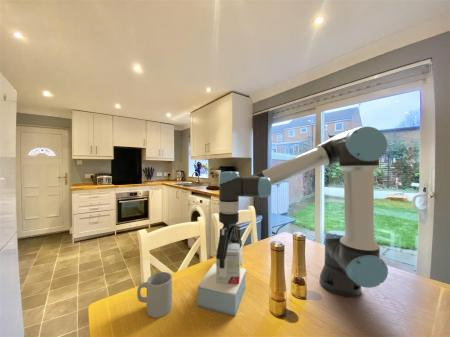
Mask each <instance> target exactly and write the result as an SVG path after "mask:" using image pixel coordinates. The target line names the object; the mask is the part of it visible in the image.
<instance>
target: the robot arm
mask: <svg viewBox="0 0 450 337" xmlns="http://www.w3.org/2000/svg"><path fill="white" fill-rule="evenodd" d="M387 149H388V139H387V137H386V136H385V134H384V133H383V132H382V131H380V130H379V129H378V128H376V127H373V126H359V127H355V128H352V129H350V130H347V131H344V132H341V133H338V134H336V135H335V136H332V137H331V138H329V139H328V140H325V141H324V142H321V143H320V144H318V145H316V147H315V148H314V149H311V150H309V151H307V152H304V153H302V154H300V155H297V156H294V157H293V158H290V159H288V160H285V161H283V162H281V163H277V164H275V165H274V166H271V167H269V168H267V169H264V170H262V171H260V172H257V173H254V174H251V175H249V176H240V172H239V171H231V170H229V171H221V172H220V174H219V183H218V185H219V186H218V190H219V191H218V196H219V197H218V198H219V199H218V201H219V202H218V204H217V205H218V210H219V213H218V222H219V223H220V224H222V225H223V226H222V228H220V229H219V236H218V243H217V245H218V246H217V248H218V250H217V249H216V251H217V256H216V255H215V256H216V257H215V260H216V259H219V276H222V277H226V276H227V258H226V254H227V249H228V243H229V240H231V242H230V243H231V244H237V243H238V242H239V240H237V239H239V236H238V235H239V234H238V233H239V232H238V227H237V223H239V220H240V219H239V215H240V213H239V211H240V210H239V208H240V206H239V205H240V204H239V203H240V201H239V200H240V199H239V197H240V198H241V197H243V198H244V197H245V198H246V197H248V198H249V197H250V198H269V197H271V195H272V186H274V185H276V184H279V183H282V182H285V181H286V180H289V179H292V178H294V177H297V176H299V175H301V174H302V175H303V174H304V173H307V172H309V171H311V170H314V169H317V168H318V167H319V168H320V167H321V166H327V167H328V166H330V165H333V164H337V163H338V165H339V168H340V169H341V170H342V171H343V173H344V174H343V180H344V184H343V187H344V192H343V193H344V195H343V198H344V199H343V200H344V201H343V202H344V205H343V206H344V230H327V231H326V232H325V234H324V265H323V267H322V269H321V272H320V274H319V282H320V284H321V285H322V287H324V288H325V289H326V290H327V291H329V292H331V293H333V294H336V295H338V296H342V297H348V298H354V297H358V296H360V295H361V293H362V288H368V289H369V288H377V287H378V286H380V285H381V284H383V283H384V282H385V281H386V280H387V278H388V275H389V269H388V265H387V264H386V262H385V261H384V260H383V258H381V256H380V252H381V251H380V248H381V247H380V244H378V243H377V242H376V240H375V222H374V221H375V212H374V211H375V210H374V209H375V208H374V206H375V204H374V200H375V199H374V196H375V195H374V193H375V191H374V189H375V188H374V184H375V183H374V177H375V176H374V172H375V170H376V169H378V168H379V167H380V159H381V158H382V157H383V155H384V154H386V152H387Z"/></svg>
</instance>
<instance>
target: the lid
mask: <svg viewBox="0 0 450 337" xmlns="http://www.w3.org/2000/svg"><path fill="white" fill-rule="evenodd" d="M246 271H247V268H243V267H240V279H239V284H234V283H219V282H216V263H213V265H212V266H210V268H209V270H207V272H206V273H205V275H204V276H203V277H202V279H201V280H200V281H199V283H198V284H197V288H198V287H200V288H204V289H209V290H213V291H218V292H222V293H226V294H231V295H235V296H236V294H237V291H238V289H239V286H240V284H241V282H242V279H243V277H244V274H245V275H246Z"/></svg>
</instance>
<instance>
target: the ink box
mask: <svg viewBox="0 0 450 337" xmlns="http://www.w3.org/2000/svg"><path fill="white" fill-rule="evenodd" d="M217 250H218V247H217V249H216V254H215V256H217ZM226 258H227V276H226V277H222V276H219V259H216V258H215V260H216V261H215V262H216V282H219V283H234V284H239V279H240V268H241V265H240V244H231V243H228V249H227V254H226Z"/></svg>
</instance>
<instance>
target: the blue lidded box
mask: <svg viewBox="0 0 450 337" xmlns="http://www.w3.org/2000/svg"><path fill="white" fill-rule="evenodd" d="M245 289H246V273H245V274H244V277H243V279H242V282H241V284H240V286H239V289H238V291H237V294H236V296H235V295H231V294H226V293H222V292H218V291H213V290H209V289H204V288H200V287H198V286H197V307H198V308H202V309H205V310H210V311H212V312H217V313H222V314H225V315H229V316H232V317H236V315H237V312H238V309H239V307H240V304H241V301H242V298H243V295H244V294H245V293H244V292H245V291H246V290H245Z"/></svg>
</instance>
